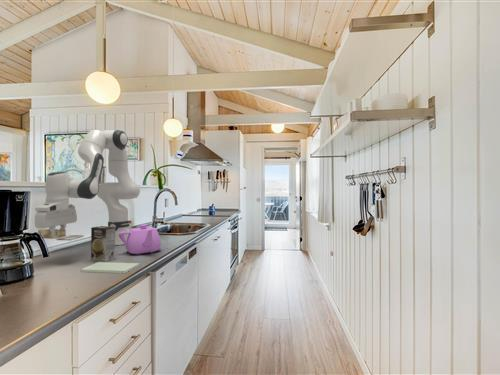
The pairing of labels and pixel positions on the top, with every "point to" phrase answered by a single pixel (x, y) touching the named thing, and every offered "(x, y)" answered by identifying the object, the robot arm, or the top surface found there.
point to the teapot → (141, 240)
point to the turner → (58, 234)
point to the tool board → (110, 267)
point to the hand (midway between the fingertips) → (57, 234)
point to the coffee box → (102, 243)
